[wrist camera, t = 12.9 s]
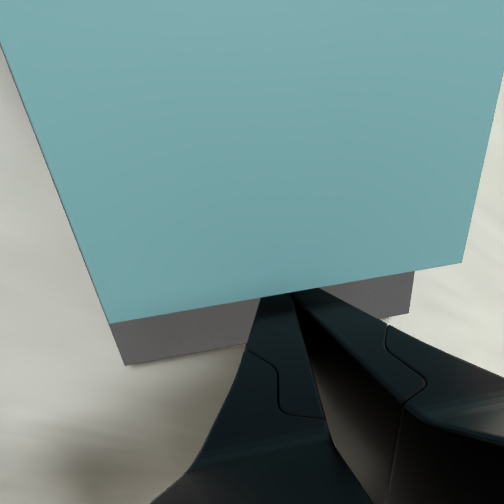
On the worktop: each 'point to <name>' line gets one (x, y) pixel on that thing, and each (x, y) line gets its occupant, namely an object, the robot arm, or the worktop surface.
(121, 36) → the slide jaw
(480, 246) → the worktop surface
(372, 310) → the vise
